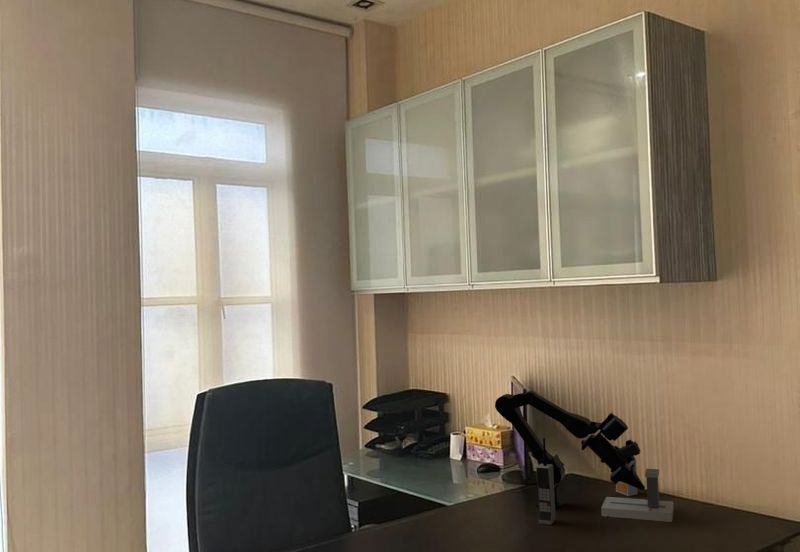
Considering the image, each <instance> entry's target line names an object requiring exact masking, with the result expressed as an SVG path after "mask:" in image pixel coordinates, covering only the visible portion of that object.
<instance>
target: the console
mask: <svg viewBox="0 0 800 552" xmlns="http://www.w3.org/2000/svg"><path fill="white" fill-rule="evenodd" d="M600 509H601V510H600V511H601V516H602V517H607V516H609V517H610V518H620V519H621V518H623V519H630V518H631V519H634V520H642V521H643V520H644V521H657V522H667V523H669V522H670V523H672V522H673V519H674V510H675V509H674V501H671V500H670V501H668V500H667V501H666V500H659V508H655V507H648V499H642V498H641V499H640V498H639V499H638V498H629V497H627V498H625V497H614V496H613V497H611V496H606V497H605V499H604V501H603V503H602V506H601V507H600ZM609 517H608V518H609Z"/></svg>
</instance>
